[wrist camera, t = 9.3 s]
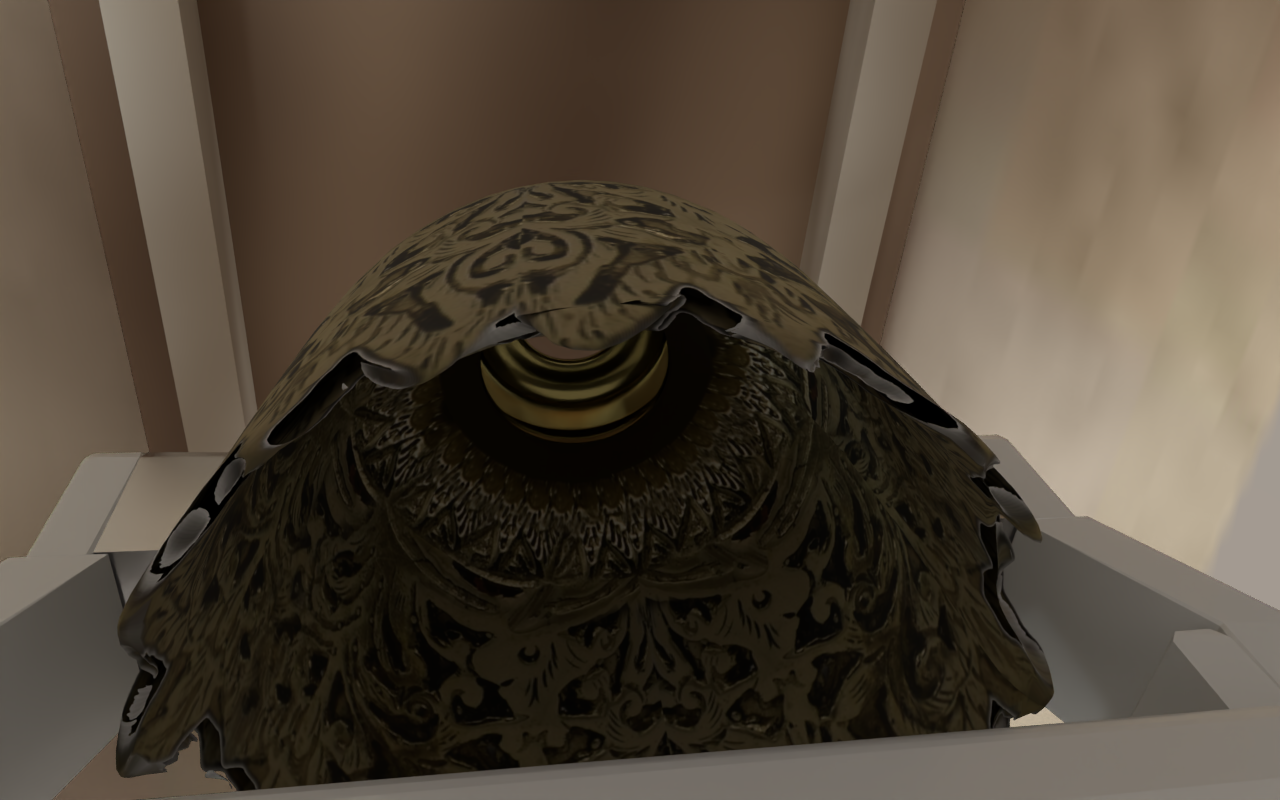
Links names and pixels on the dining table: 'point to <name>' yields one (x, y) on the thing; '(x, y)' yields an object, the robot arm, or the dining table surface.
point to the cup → (579, 521)
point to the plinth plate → (465, 150)
